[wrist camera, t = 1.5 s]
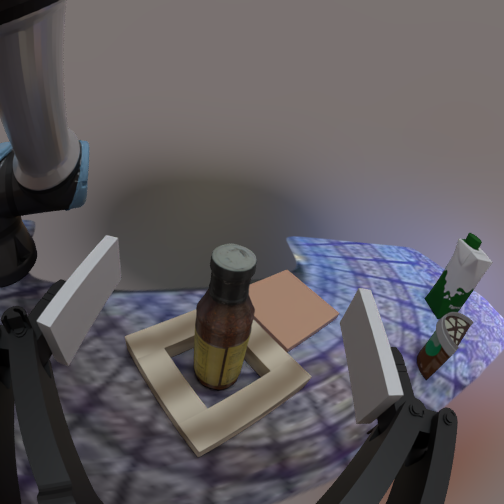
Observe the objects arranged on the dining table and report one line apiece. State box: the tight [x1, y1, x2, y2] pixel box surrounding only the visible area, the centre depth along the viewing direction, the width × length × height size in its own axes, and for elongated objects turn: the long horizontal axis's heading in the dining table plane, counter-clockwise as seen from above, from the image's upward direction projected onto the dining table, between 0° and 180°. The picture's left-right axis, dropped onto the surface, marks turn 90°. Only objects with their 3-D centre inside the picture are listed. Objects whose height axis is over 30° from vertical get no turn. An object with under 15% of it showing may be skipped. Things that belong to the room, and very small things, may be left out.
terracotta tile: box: [249, 270, 339, 352], centre depth 49 cm, size 14×14×1 cm
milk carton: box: [425, 233, 493, 319], centre depth 53 cm, size 9×9×20 cm
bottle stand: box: [125, 310, 311, 457], centre depth 35 cm, size 18×18×3 cm
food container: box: [417, 312, 473, 380], centre depth 41 cm, size 12×6×10 cm, turn 122°
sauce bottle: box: [194, 244, 257, 390], centre depth 30 cm, size 7×6×20 cm
